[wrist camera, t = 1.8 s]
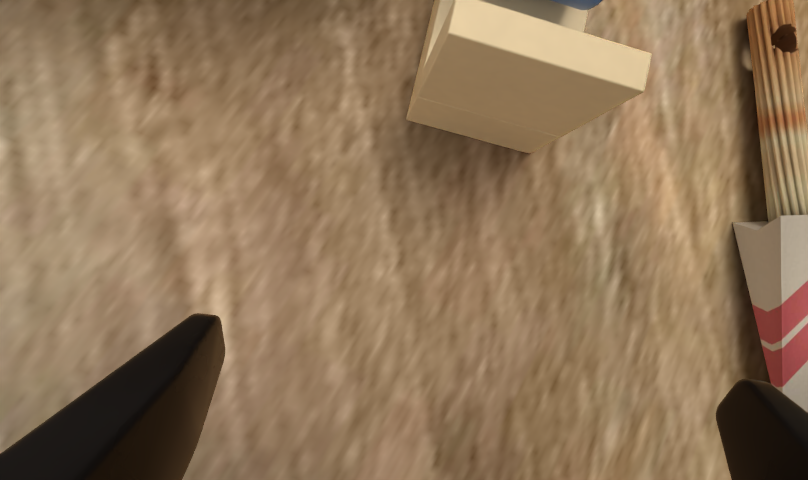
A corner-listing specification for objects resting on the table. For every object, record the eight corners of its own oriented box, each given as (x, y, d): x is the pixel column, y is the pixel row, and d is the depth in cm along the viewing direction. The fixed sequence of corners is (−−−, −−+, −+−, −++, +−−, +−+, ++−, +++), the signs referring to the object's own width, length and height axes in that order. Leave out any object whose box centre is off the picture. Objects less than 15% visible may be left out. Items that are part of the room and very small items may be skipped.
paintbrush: (802, 447, 20) (759, -12, 22) (748, 427, 23) (713, 20, 25) (882, 440, 21) (835, -8, 23) (820, 421, 24) (782, 23, 25)
